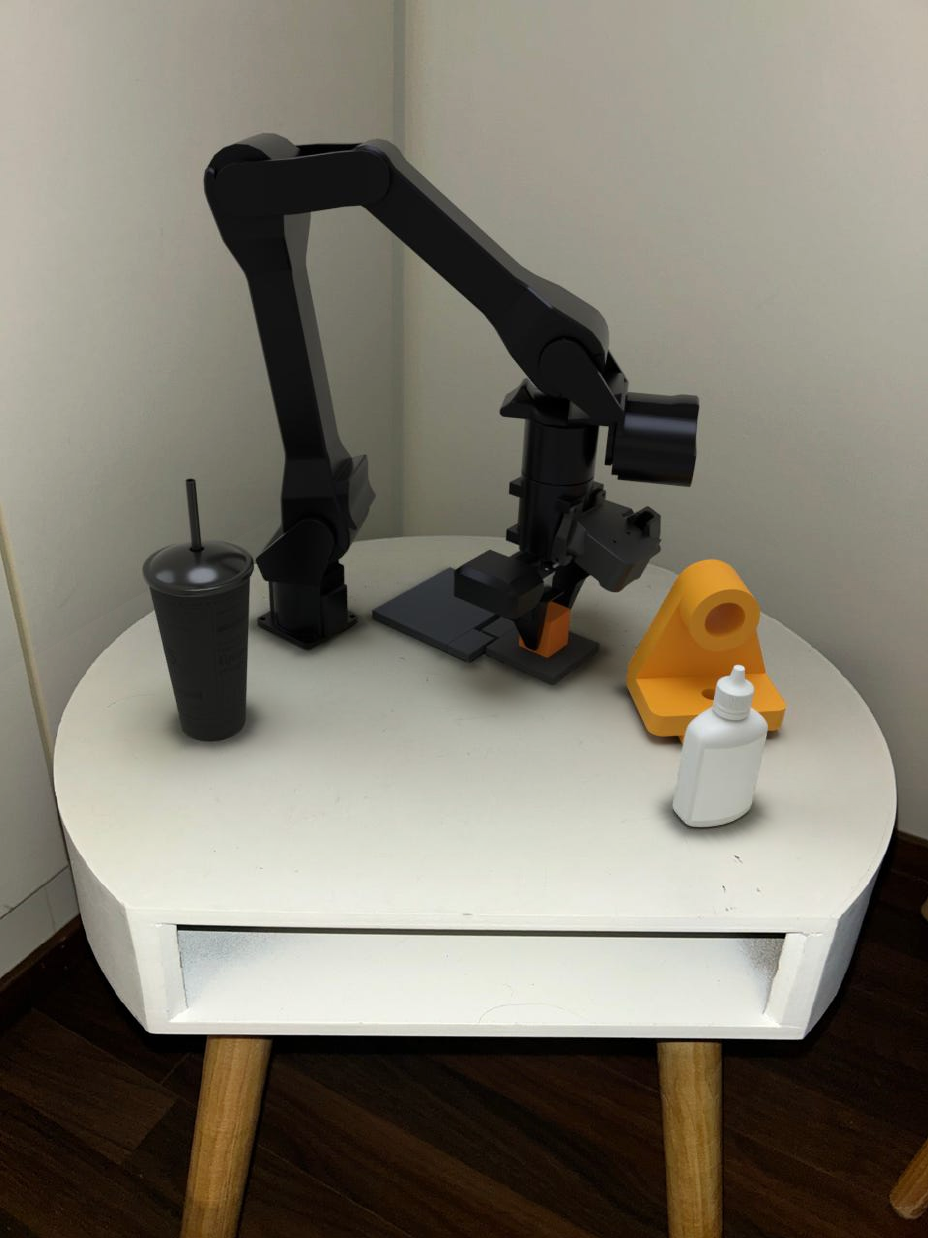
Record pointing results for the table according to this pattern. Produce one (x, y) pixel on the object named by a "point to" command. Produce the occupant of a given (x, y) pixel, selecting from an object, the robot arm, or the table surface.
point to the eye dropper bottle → (721, 756)
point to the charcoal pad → (439, 617)
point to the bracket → (700, 651)
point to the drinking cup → (203, 626)
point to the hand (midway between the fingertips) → (542, 640)
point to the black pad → (533, 660)
